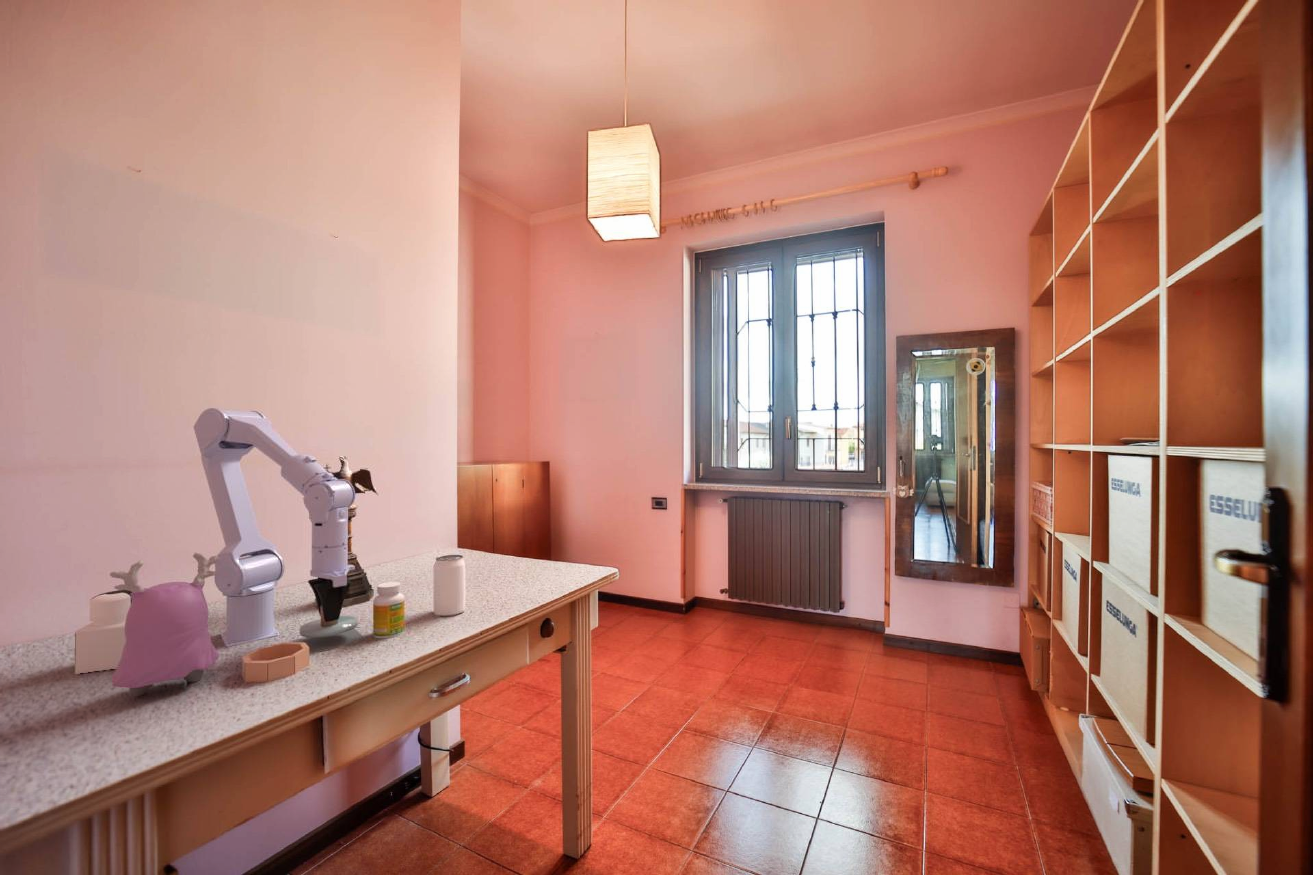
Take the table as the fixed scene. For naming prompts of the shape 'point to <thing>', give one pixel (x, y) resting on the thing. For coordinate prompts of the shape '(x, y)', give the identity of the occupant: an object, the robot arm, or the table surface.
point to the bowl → (275, 661)
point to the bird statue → (359, 581)
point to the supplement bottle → (388, 611)
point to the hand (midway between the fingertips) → (329, 618)
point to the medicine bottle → (103, 633)
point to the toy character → (165, 631)
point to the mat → (332, 641)
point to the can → (449, 585)
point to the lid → (328, 626)
